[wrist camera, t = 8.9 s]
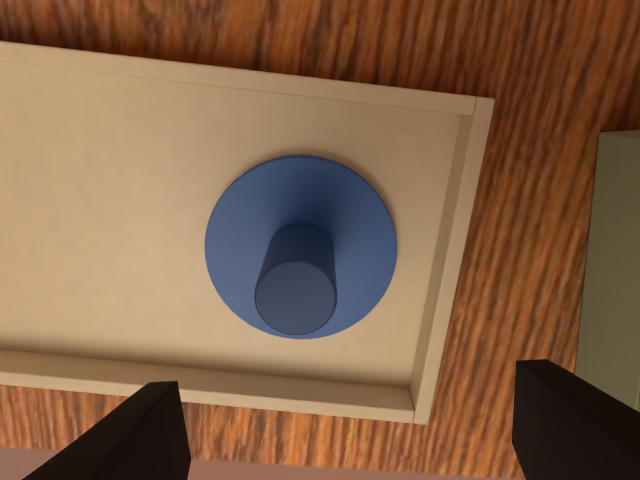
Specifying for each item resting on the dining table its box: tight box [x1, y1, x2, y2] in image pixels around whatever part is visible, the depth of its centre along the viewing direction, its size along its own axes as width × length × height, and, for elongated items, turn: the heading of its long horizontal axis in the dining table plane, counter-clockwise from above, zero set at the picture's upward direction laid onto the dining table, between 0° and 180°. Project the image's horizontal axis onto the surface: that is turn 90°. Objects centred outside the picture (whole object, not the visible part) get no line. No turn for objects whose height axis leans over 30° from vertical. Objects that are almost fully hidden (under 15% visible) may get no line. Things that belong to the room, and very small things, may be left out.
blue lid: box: [205, 155, 397, 339], centre depth 16 cm, size 7×7×5 cm
